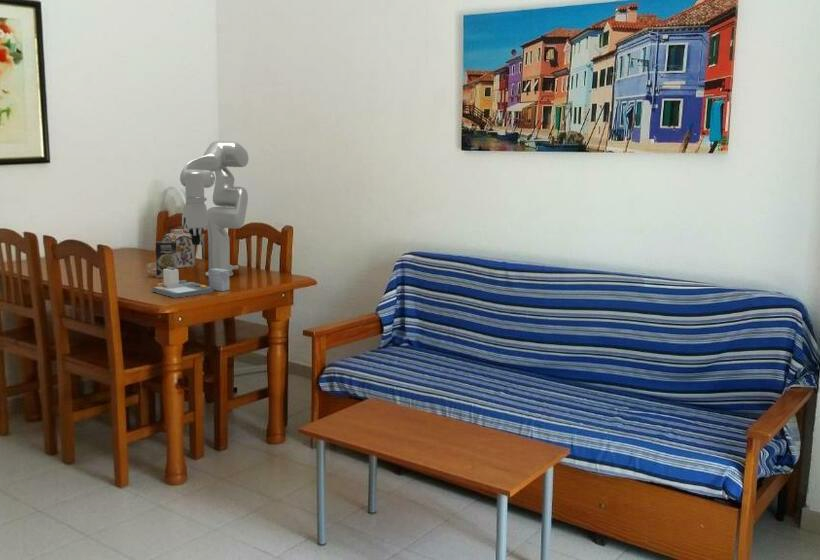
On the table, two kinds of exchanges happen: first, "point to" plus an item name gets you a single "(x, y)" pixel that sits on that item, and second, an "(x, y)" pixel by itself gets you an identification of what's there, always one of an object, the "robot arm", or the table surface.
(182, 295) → the panel
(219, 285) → the medicine box
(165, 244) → the coffee box
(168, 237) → the decorative jar
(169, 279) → the toggle
